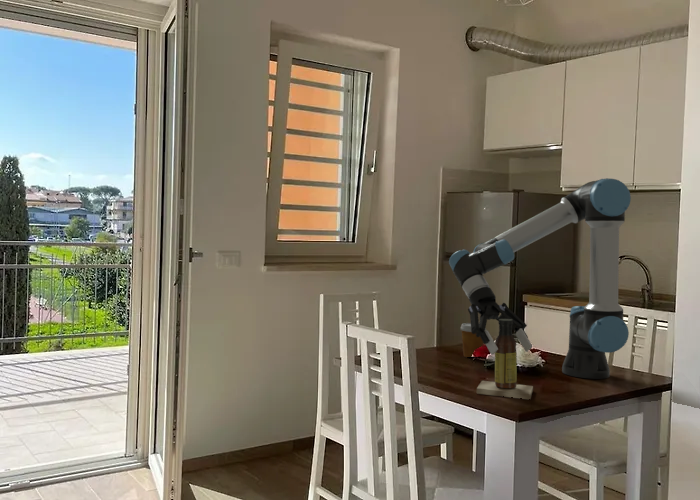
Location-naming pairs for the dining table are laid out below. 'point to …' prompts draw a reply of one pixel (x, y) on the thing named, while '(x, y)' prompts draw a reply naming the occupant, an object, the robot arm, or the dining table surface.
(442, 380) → the dining table surface
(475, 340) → the disposable coffee cup
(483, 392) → the birch board
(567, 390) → the dining table surface
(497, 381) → the sauce bottle
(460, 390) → the dining table surface
